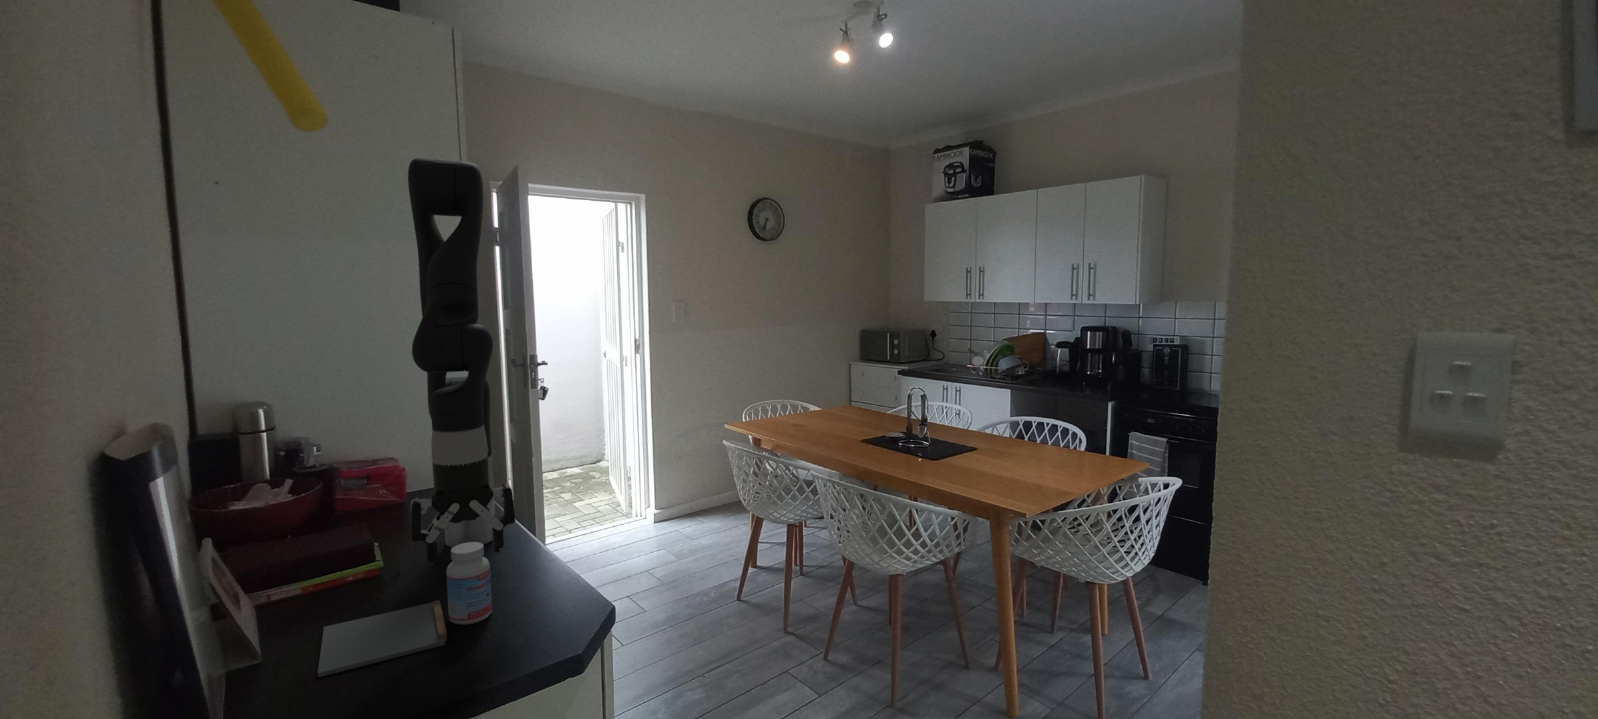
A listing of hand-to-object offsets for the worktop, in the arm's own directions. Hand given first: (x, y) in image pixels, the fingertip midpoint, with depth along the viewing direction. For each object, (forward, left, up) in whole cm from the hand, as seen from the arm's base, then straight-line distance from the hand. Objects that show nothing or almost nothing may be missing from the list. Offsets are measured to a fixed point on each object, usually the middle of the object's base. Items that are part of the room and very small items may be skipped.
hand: (466, 557), depth 104 cm
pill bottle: (0, 0, -10) cm, 10 cm away
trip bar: (0, -4, -10) cm, 10 cm away
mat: (0, -12, -10) cm, 15 cm away
